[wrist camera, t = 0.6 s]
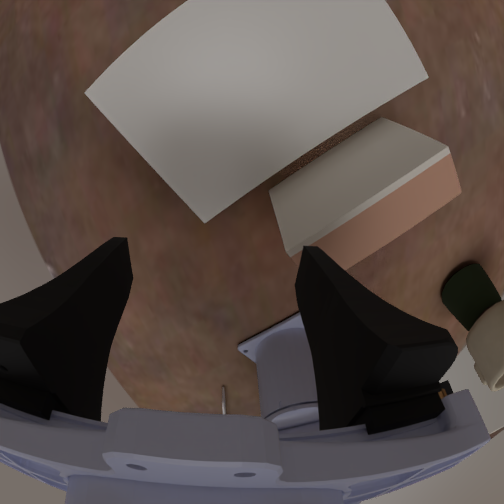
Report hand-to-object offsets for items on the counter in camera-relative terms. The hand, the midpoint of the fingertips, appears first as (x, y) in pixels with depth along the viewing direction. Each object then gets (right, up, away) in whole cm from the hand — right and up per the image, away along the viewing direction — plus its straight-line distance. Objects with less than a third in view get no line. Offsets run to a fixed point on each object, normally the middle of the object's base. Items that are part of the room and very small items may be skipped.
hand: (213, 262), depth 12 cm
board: (+2, +12, +4) cm, 13 cm away
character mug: (+25, -3, +16) cm, 30 cm away
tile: (+8, +6, +9) cm, 13 cm away
